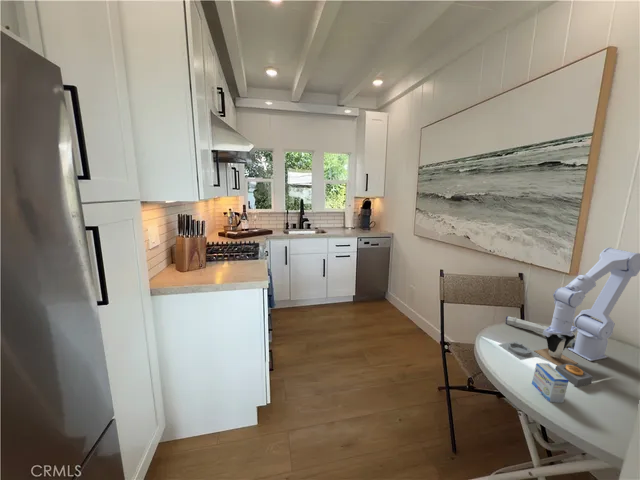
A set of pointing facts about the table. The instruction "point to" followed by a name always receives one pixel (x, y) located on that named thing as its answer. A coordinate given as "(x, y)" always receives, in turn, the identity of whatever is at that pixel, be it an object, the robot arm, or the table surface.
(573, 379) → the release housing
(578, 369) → the release button
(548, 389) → the medicine box
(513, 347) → the cartridge socket
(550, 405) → the table surface
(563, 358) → the tan board
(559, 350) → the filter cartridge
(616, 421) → the table surface
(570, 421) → the table surface
